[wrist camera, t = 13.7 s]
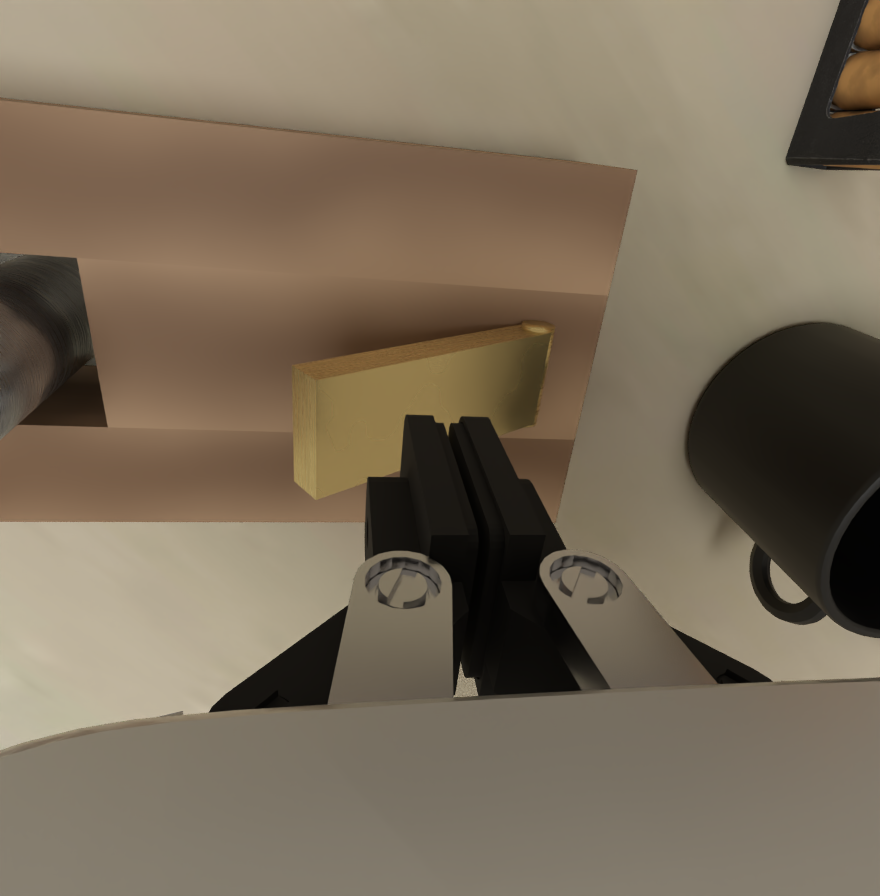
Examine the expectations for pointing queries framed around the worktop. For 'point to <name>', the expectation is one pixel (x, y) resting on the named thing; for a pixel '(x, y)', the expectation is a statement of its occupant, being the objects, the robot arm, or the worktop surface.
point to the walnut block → (277, 297)
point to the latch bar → (410, 399)
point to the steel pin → (39, 332)
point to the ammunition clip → (843, 96)
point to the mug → (801, 467)
